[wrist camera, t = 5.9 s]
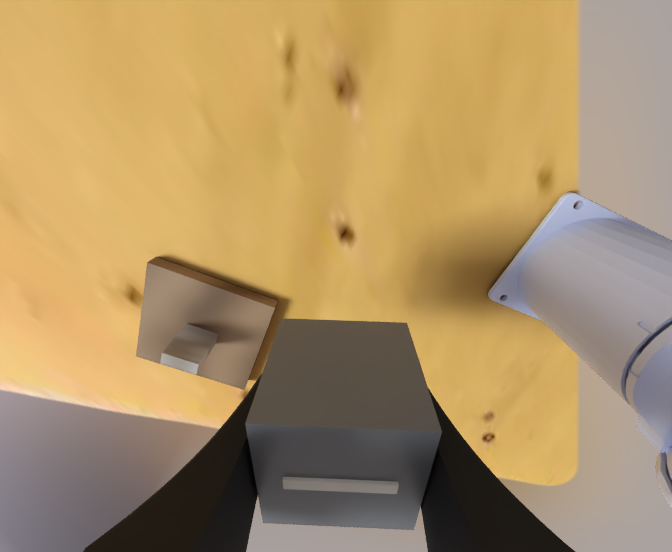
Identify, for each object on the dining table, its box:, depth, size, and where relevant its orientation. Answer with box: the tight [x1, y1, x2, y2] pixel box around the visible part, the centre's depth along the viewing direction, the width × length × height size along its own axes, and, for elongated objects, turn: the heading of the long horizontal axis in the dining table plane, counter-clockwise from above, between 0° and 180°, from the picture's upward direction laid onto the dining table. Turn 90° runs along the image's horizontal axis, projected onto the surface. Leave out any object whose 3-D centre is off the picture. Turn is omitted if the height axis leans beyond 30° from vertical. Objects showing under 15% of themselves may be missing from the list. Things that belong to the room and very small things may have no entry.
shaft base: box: [136, 257, 278, 390], centre depth 21 cm, size 9×9×4 cm
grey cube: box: [245, 319, 442, 530], centre depth 11 cm, size 5×5×5 cm
